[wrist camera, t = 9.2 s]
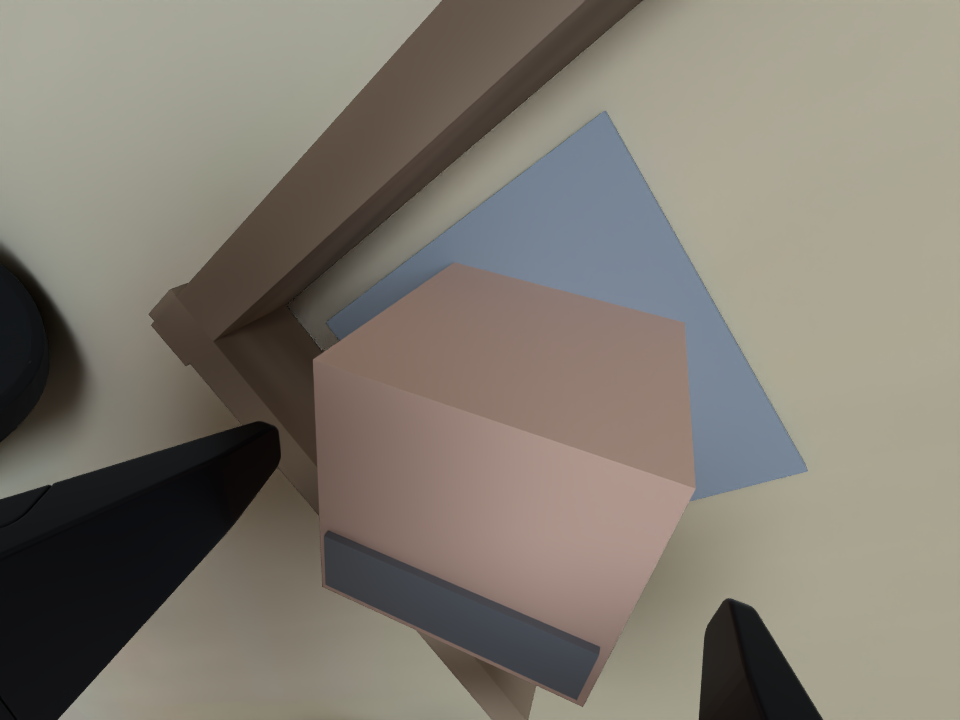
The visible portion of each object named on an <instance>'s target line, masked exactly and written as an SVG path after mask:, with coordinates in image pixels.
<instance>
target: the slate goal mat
mask: <svg viewBox="0 0 960 720" xmlns="http://www.w3.org/2000/svg"><path fill="white" fill-rule="evenodd" d="M454 262H455V263H459V264H463V265H467V266H471V267H474V268H478V269H482V270H486V271H490V272H493V273H497V274H501V275H505V276H509V277H513V278H516V279H520V280H524V281H528V282H532V283H535V284H539V285H543V286H547V287H551V288H555V289H558V290H562V291H566V292H570V293H574V294H578V295H581V296H585V297H589V298H593V299H597V300H600V301H604V302H608V303H612V304H616V305H620V306H623V307H627V308H631V309H635V310H639V311H642V312H646V313H650V314H654V315H658V316H662V317H665V318H669V319H673V320H677V321H681V322H684V323H685V335H686V350H687V365H688V380H689V395H690V410H691V425H692V440H693V455H694V470H695V485H696V489H695V491H694V493H693V495H692V497H691V499H690V501H693V500H697V499H701V498H705V497H709V496H713V495H716V494H720V493H724V492H728V491H732V490H736V489H740V488H744V487H748V486H752V485H756V484H760V483H763V482H767V481H771V480H775V479H779V478H783V477H787V476H791V475H795V474H799V473H803V472H807V471H808V470H807V467H806V465H805V463H804V461H803V459H802V457H801V456H800V454H799V452H798V450H797V448H796V447H795V445H794V443H793V441H792V440H791V438H790V436H789V434H788V432H787V431H786V429H785V427H784V425H783V424H782V422H781V420H780V418H779V417H778V415H777V413H776V411H775V409H774V408H773V406H772V404H771V402H770V401H769V399H768V397H767V395H766V394H765V392H764V390H763V388H762V386H761V385H760V383H759V381H758V379H757V378H756V376H755V374H754V372H753V370H752V369H751V367H750V365H749V363H748V362H747V360H746V358H745V356H744V355H743V353H742V351H741V349H740V347H739V346H738V344H737V342H736V340H735V339H734V337H733V335H732V333H731V332H730V330H729V328H728V326H727V324H726V323H725V321H724V319H723V317H722V316H721V314H720V312H719V310H718V308H717V307H716V305H715V303H714V301H713V300H712V298H711V296H710V294H709V293H708V291H707V289H706V287H705V285H704V284H703V282H702V280H701V278H700V277H699V275H698V273H697V271H696V270H695V268H694V266H693V264H692V262H691V261H690V259H689V257H688V255H687V254H686V252H685V250H684V248H683V247H682V245H681V243H680V241H679V239H678V238H677V236H676V234H675V232H674V231H673V229H672V227H671V225H670V223H669V222H668V220H667V218H666V216H665V215H664V213H663V211H662V209H661V208H660V206H659V204H658V202H657V200H656V199H655V197H654V195H653V193H652V192H651V190H650V188H649V186H648V185H647V183H646V181H645V179H644V177H643V176H642V174H641V172H640V170H639V169H638V167H637V165H636V163H635V161H634V160H633V158H632V156H631V154H630V153H629V151H628V149H627V147H626V146H625V144H624V142H623V140H622V138H621V137H620V135H619V133H618V131H617V130H616V128H615V126H614V124H613V123H612V121H611V119H610V117H609V115H608V114H607V112H606V111H604V112H602V113H601V114H600V115H598V116H597V117H596V118H594V119H593V120H592V121H590V122H589V123H588V124H586V125H585V126H584V127H583V128H581V129H580V130H579V131H577V132H576V133H575V134H573V135H572V136H571V137H569V138H568V139H567V140H565V141H564V142H563V143H561V144H560V145H559V146H557V147H556V148H555V149H554V150H552V151H551V152H550V153H548V154H547V155H546V156H544V157H543V158H542V159H540V160H539V161H538V162H536V163H535V164H534V165H532V166H531V167H530V168H528V169H527V170H526V171H525V172H523V173H522V174H521V175H519V176H518V177H517V178H515V179H514V180H513V181H511V182H510V183H509V184H507V185H506V186H505V187H503V188H502V189H501V190H499V191H498V192H497V193H496V194H494V195H493V196H492V197H490V198H489V199H488V200H486V201H485V202H484V203H482V204H481V205H480V206H478V207H477V208H476V209H474V210H473V211H472V212H471V213H469V214H468V215H467V216H465V217H464V218H463V219H461V220H460V221H459V222H457V223H456V224H455V225H453V226H452V227H451V228H449V229H448V230H447V231H445V232H444V233H443V234H442V235H440V236H439V237H438V238H436V239H435V240H434V241H432V242H431V243H430V244H428V245H427V246H426V247H424V248H423V249H422V250H420V251H419V252H418V253H416V254H415V255H414V256H413V257H411V258H410V259H409V260H407V261H406V262H405V263H403V264H402V265H401V266H399V267H398V268H397V269H395V270H394V271H393V272H391V273H390V274H389V275H388V276H386V277H385V278H384V279H382V280H381V281H380V282H378V283H377V284H376V285H374V286H373V287H372V288H370V289H369V290H368V291H366V292H365V293H364V294H362V295H361V296H360V297H359V298H357V299H356V300H355V301H353V302H352V303H351V304H349V305H348V306H347V307H345V308H344V309H343V310H341V311H340V312H339V313H337V314H336V315H335V316H333V317H332V318H331V319H330V320H328V321H327V322H326V324H327V325H328V326H329V328H330V329H331V330H332V331H333V333H334V334H335V335H336V337H337V338H338V339H339V341H341V340H342V339H343V338H345V337H346V336H348V335H349V334H351V333H352V332H354V331H355V330H357V329H358V328H359V327H361V326H362V325H364V324H365V323H367V322H368V321H370V320H371V319H373V318H374V317H375V316H377V315H378V314H380V313H381V312H383V311H384V310H386V309H387V308H389V307H390V306H391V305H393V304H394V303H396V302H397V301H399V300H400V299H402V298H403V297H404V296H406V295H407V294H409V293H410V292H412V291H413V290H415V289H416V288H418V287H419V286H420V285H422V284H423V283H425V282H426V281H428V280H429V279H431V278H432V277H434V276H435V275H436V274H438V273H439V272H441V271H442V270H444V269H445V268H447V267H448V266H450V265H451V264H452V263H454Z"/></svg>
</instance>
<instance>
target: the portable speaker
mask: <svg viewBox="0 0 960 720" xmlns="http://www.w3.org/2000/svg"><path fill="white" fill-rule="evenodd" d="M49 361H50V354H49V343H48V339H47V336H46V333H45V329H44V325H43V321H42V318H41V316H40V313H39V311H38V308H37V306H36V304H35V302H34V301H33V299H32V297H31V296H30V294H29V293H28V292H27V290H26V289H25V287H24V286H23V285H22V284H21V283H20V282H19V280H18V279H17V278H16V277H15V276H14V275H13V274H12V273H11V272H10V271H9V270H8V269H6V268H5V267H4V266H2V265H1V264H0V442H1V441H2V440H3V439H4V438H6V437H7V436H8V435H9V434H10V433H11V432H12V431H14V430H15V429H16V428H17V427H18V426H19V425H20V424H21V422H22V421H23V420H24V419H25V418H26V417H27V416H28V414H29V413H30V412H31V410H32V409H33V408H34V406H35V405H36V403H37V401H38V400H39V398H40V396H41V394H42V392H43V389H44V387H45V384H46V381H47V377H48V372H49Z"/></svg>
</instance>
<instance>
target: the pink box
mask: <svg viewBox="0 0 960 720" xmlns="http://www.w3.org/2000/svg"><path fill="white" fill-rule="evenodd" d="M313 376H314V400H315V424H316V448H317V472H318V495H319V519H320V543H321V567H322V587H324V588H326V589H328V590H331V591H333V592H335V593H337V594H339V595H341V596H344V597H346V598H348V599H350V600H352V601H354V602H357V603H359V604H361V605H363V606H365V607H367V608H370V609H372V610H374V611H376V612H378V613H380V614H383V615H385V616H387V617H389V618H391V619H393V620H396V621H398V622H400V623H402V624H404V625H406V626H409V627H411V628H413V629H415V630H417V631H419V632H422V633H424V634H426V635H428V636H430V637H432V638H435V639H437V640H439V641H441V642H443V643H445V644H448V645H450V646H452V647H454V648H456V649H458V650H461V651H463V652H465V653H467V654H469V655H471V656H474V657H476V658H478V659H480V660H482V661H484V662H487V663H489V664H491V665H493V666H495V667H497V668H500V669H502V670H504V671H506V672H508V673H510V674H513V675H515V676H517V677H519V678H521V679H523V680H526V681H528V682H530V683H532V684H534V685H536V686H539V687H541V688H543V689H545V690H547V691H549V692H552V693H554V694H556V695H558V696H560V697H562V698H565V699H567V700H569V701H571V702H573V703H575V704H578V705H580V706H582V707H583V706H584V704H585V702H586V700H587V698H588V696H589V694H590V692H591V691H592V689H593V687H594V685H595V683H596V681H597V679H598V677H599V675H600V673H601V671H602V669H603V667H604V665H605V663H606V661H607V660H608V658H609V656H610V654H611V652H612V650H613V648H614V646H615V644H616V642H617V640H618V638H619V636H620V634H621V632H622V630H623V629H624V627H625V625H626V623H627V621H628V619H629V617H630V615H631V613H632V611H633V609H634V607H635V605H636V603H637V601H638V600H639V598H640V596H641V594H642V592H643V590H644V588H645V586H646V584H647V582H648V580H649V578H650V576H651V574H652V572H653V570H654V569H655V567H656V565H657V563H658V561H659V559H660V557H661V555H662V553H663V551H664V549H665V547H666V545H667V543H668V541H669V539H670V538H671V536H672V534H673V532H674V530H675V528H676V526H677V524H678V522H679V520H680V518H681V516H682V514H683V512H684V510H685V508H686V507H687V505H688V503H689V501H690V499H691V497H692V495H693V493H694V491H695V489H696V485H695V470H694V455H693V440H692V425H691V410H690V395H689V380H688V365H687V350H686V335H685V323H684V322H681V321H677V320H673V319H669V318H665V317H662V316H658V315H654V314H650V313H646V312H642V311H639V310H635V309H631V308H627V307H623V306H620V305H616V304H612V303H608V302H604V301H600V300H597V299H593V298H589V297H585V296H581V295H578V294H574V293H570V292H566V291H562V290H558V289H555V288H551V287H547V286H543V285H539V284H535V283H532V282H528V281H524V280H520V279H516V278H513V277H509V276H505V275H501V274H497V273H493V272H490V271H486V270H482V269H478V268H474V267H471V266H467V265H463V264H459V263H455V262H454V263H452V264H451V265H450V266H448V267H447V268H445V269H444V270H442V271H441V272H439V273H438V274H436V275H435V276H434V277H432V278H431V279H429V280H428V281H426V282H425V283H423V284H422V285H420V286H419V287H418V288H416V289H415V290H413V291H412V292H410V293H409V294H407V295H406V296H404V297H403V298H402V299H400V300H399V301H397V302H396V303H394V304H393V305H391V306H390V307H389V308H387V309H386V310H384V311H383V312H381V313H380V314H378V315H377V316H375V317H374V318H373V319H371V320H370V321H368V322H367V323H365V324H364V325H362V326H361V327H359V328H358V329H357V330H355V331H354V332H352V333H351V334H349V335H348V336H346V337H345V338H343V339H342V340H341V341H339V342H338V343H336V344H335V345H333V346H332V347H330V348H329V349H328V350H326V351H325V352H323V353H322V354H320V355H319V356H317V357H316V358H314V359H313Z"/></svg>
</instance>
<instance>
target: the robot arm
mask: <svg viewBox="0 0 960 720" xmlns="http://www.w3.org/2000/svg"><path fill="white" fill-rule="evenodd" d="M280 460H281V447H280V437H279V430H278V429H277V427H276V426H274V425H271V424H269V423H266V422H263V421H256V422H252V423H249V424H246V425H243V426H239V427H236V428H233V429H229V430H226V431H223V432H220V433H216V434H213V435H210V436H207V437H203V438H200V439H197V440H194V441H190V442H187V443H184V444H181V445H177V446H174V447H171V448H168V449H164V450H161V451H158V452H155V453H151V454H148V455H145V456H141V457H138V458H135V459H132V460H128V461H125V462H122V463H119V464H115V465H112V466H109V467H106V468H102V469H99V470H96V471H92V472H89V473H86V474H83V475H79V476H76V477H73V478H70V479H66V480H63V481H60V482H57V483H54V484H53V485H52V486H51V485H46V486H43V487H40V488H37V489H34V490H30V491H27V492H24V493H20V494H17V495H13V496H10V497H7V498H3V499H0V720H58V719H59V717H60V716H61V715H62V714H63V713H64V712H65V711H66V710H67V709H68V708H69V707H70V705H71V704H72V703H73V702H74V701H75V700H76V699H77V698H78V697H79V696H80V694H81V693H82V692H83V691H84V690H85V689H86V688H87V687H88V686H89V684H90V683H91V682H92V681H93V680H94V679H95V678H96V677H97V676H98V675H99V673H100V672H101V671H102V670H103V669H104V668H105V667H106V666H107V665H108V664H109V662H110V661H111V660H112V659H113V658H114V657H115V656H116V655H117V654H118V652H119V651H120V650H121V649H122V648H123V647H124V646H125V645H126V644H127V643H128V641H129V640H130V639H131V638H132V637H133V636H134V635H135V634H136V633H137V632H138V630H139V629H140V628H141V627H142V626H143V625H144V624H145V623H146V622H147V620H148V619H149V618H150V617H151V616H152V615H153V614H154V613H155V612H156V611H157V609H158V608H159V607H160V606H161V605H162V604H163V603H164V602H165V601H166V599H167V598H168V597H169V596H170V595H171V594H172V593H173V592H174V591H175V590H176V588H177V587H178V586H179V585H180V584H181V583H182V582H183V581H184V580H185V579H186V577H187V576H188V575H189V574H190V573H191V572H192V571H193V570H194V569H195V567H196V566H197V565H198V564H199V563H200V562H201V561H202V560H203V559H204V558H205V556H206V555H207V554H208V553H209V552H210V551H211V550H212V549H213V548H214V547H215V545H216V544H217V543H218V542H219V541H220V540H221V539H222V538H223V537H224V535H225V534H226V533H227V532H228V531H229V530H230V529H231V527H232V526H233V525H234V524H235V522H236V521H237V520H238V519H239V517H240V516H241V515H242V514H243V512H244V511H245V509H246V508H247V507H248V505H249V504H250V503H251V501H252V500H253V499H254V497H255V496H256V495H257V493H258V492H259V491H260V489H261V488H262V487H263V485H264V484H265V483H266V481H267V480H268V479H269V477H270V476H271V475H272V473H273V472H274V471H275V469H276V468H277V466H278V465H279V462H280ZM699 720H823V719H822V717H821V715H820V714H819V712H818V711H817V709H816V707H815V706H814V704H813V702H812V701H811V699H810V697H809V696H808V694H807V693H806V691H805V689H804V688H803V686H802V684H801V683H800V681H799V680H798V678H797V676H796V675H795V673H794V671H793V670H792V668H791V667H790V665H789V663H788V662H787V660H786V658H785V657H784V655H783V654H782V652H781V650H780V649H779V647H778V645H777V644H776V642H775V640H774V639H773V637H772V636H771V634H770V632H769V631H768V629H767V627H766V626H765V624H764V623H763V621H762V619H761V618H760V616H759V614H758V613H757V611H756V610H755V609H754V608H753V607H751V606H749V605H747V604H744V603H742V602H739V601H736V600H734V599H731V598H728V599H725V600H724V601H723V602H722V604H721V605H720V607H719V608H718V610H717V611H716V613H715V614H714V616H713V617H712V619H711V620H710V622H709V624H708V625H707V628H706V631H705V636H704V649H703V664H702V679H701V694H700V709H699Z"/></svg>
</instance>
